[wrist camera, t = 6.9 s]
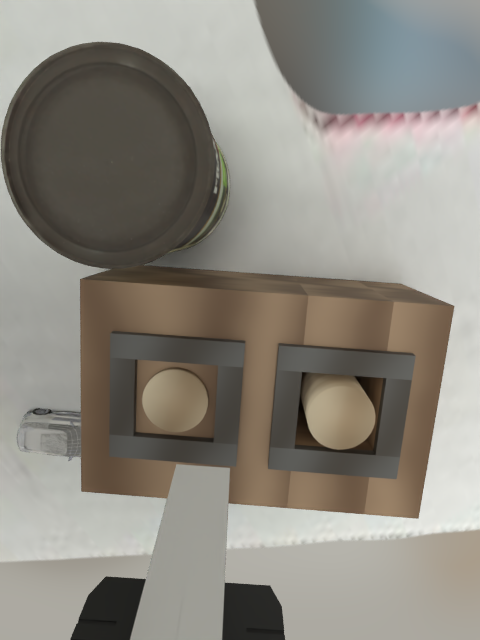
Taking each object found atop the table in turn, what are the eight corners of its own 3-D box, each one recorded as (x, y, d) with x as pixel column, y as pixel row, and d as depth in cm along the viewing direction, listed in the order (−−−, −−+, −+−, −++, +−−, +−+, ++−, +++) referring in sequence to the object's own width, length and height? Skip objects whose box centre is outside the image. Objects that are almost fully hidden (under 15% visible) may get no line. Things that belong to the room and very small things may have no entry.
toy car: (117, 453, 41) (106, 471, 38) (28, 442, 41) (10, 460, 38) (119, 415, 40) (108, 430, 37) (29, 404, 40) (11, 419, 37)
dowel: (292, 392, 36) (304, 447, 27) (297, 344, 35) (310, 383, 27) (342, 396, 36) (370, 452, 27) (348, 347, 35) (379, 389, 26)
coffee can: (193, 89, 34) (152, -3, 20) (252, 217, 36) (250, 214, 22) (74, 151, 35) (-43, 105, 21) (136, 273, 37) (66, 303, 23)
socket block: (124, 425, 40) (77, 496, 29) (126, 264, 37) (76, 280, 26) (377, 445, 39) (421, 524, 29) (400, 283, 36) (458, 307, 26)
